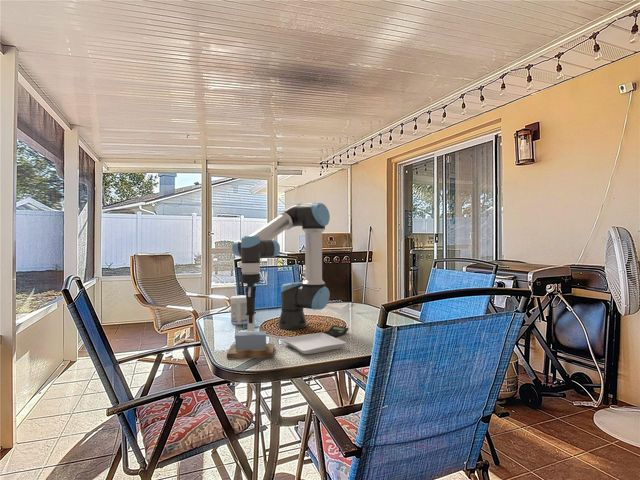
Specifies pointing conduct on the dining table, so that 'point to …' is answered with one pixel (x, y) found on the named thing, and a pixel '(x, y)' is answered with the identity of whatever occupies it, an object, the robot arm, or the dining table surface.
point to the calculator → (336, 331)
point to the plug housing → (250, 340)
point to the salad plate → (314, 343)
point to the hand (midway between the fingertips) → (251, 330)
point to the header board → (251, 352)
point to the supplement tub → (238, 310)
